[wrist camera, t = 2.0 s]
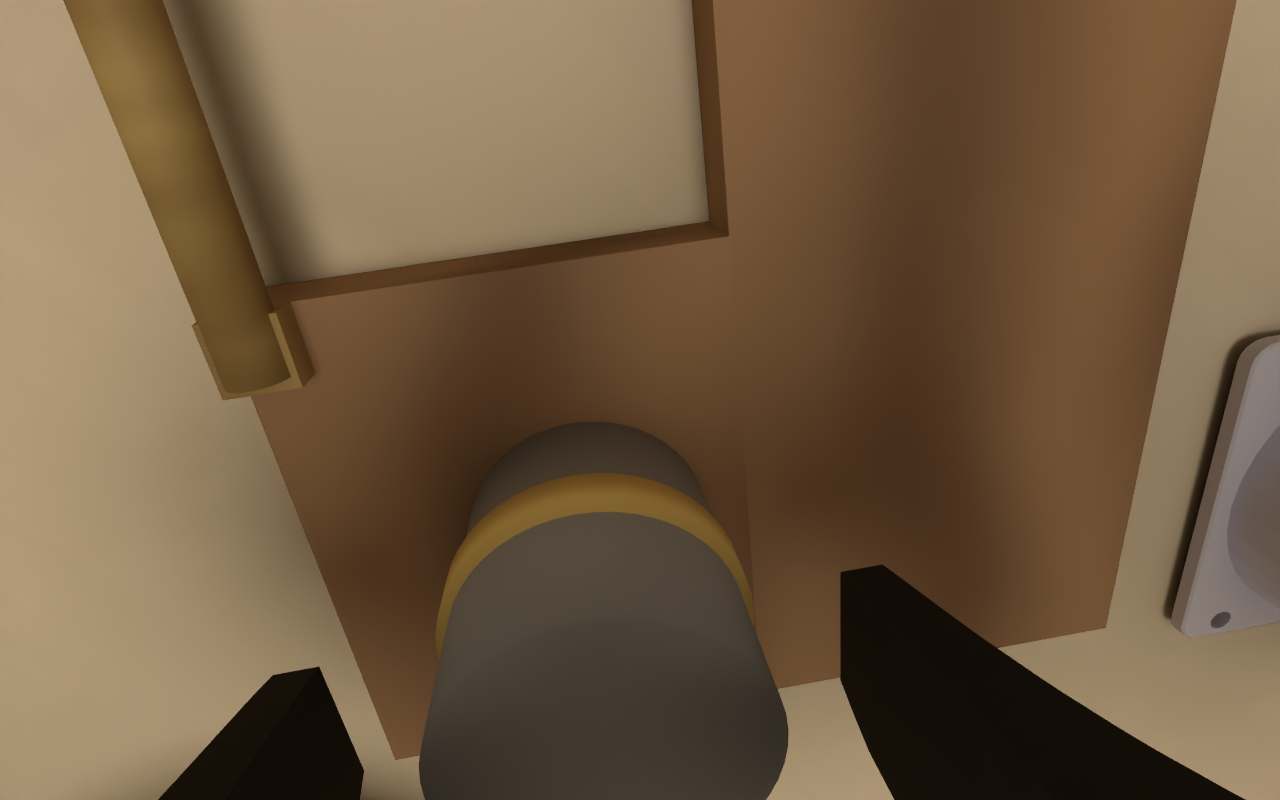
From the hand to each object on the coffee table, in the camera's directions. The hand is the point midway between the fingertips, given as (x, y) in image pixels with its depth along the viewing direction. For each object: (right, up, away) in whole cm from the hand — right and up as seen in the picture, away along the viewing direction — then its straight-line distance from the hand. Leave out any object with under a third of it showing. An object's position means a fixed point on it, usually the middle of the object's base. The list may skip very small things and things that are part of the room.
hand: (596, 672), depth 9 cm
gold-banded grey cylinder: (0, +1, +3) cm, 4 cm away
